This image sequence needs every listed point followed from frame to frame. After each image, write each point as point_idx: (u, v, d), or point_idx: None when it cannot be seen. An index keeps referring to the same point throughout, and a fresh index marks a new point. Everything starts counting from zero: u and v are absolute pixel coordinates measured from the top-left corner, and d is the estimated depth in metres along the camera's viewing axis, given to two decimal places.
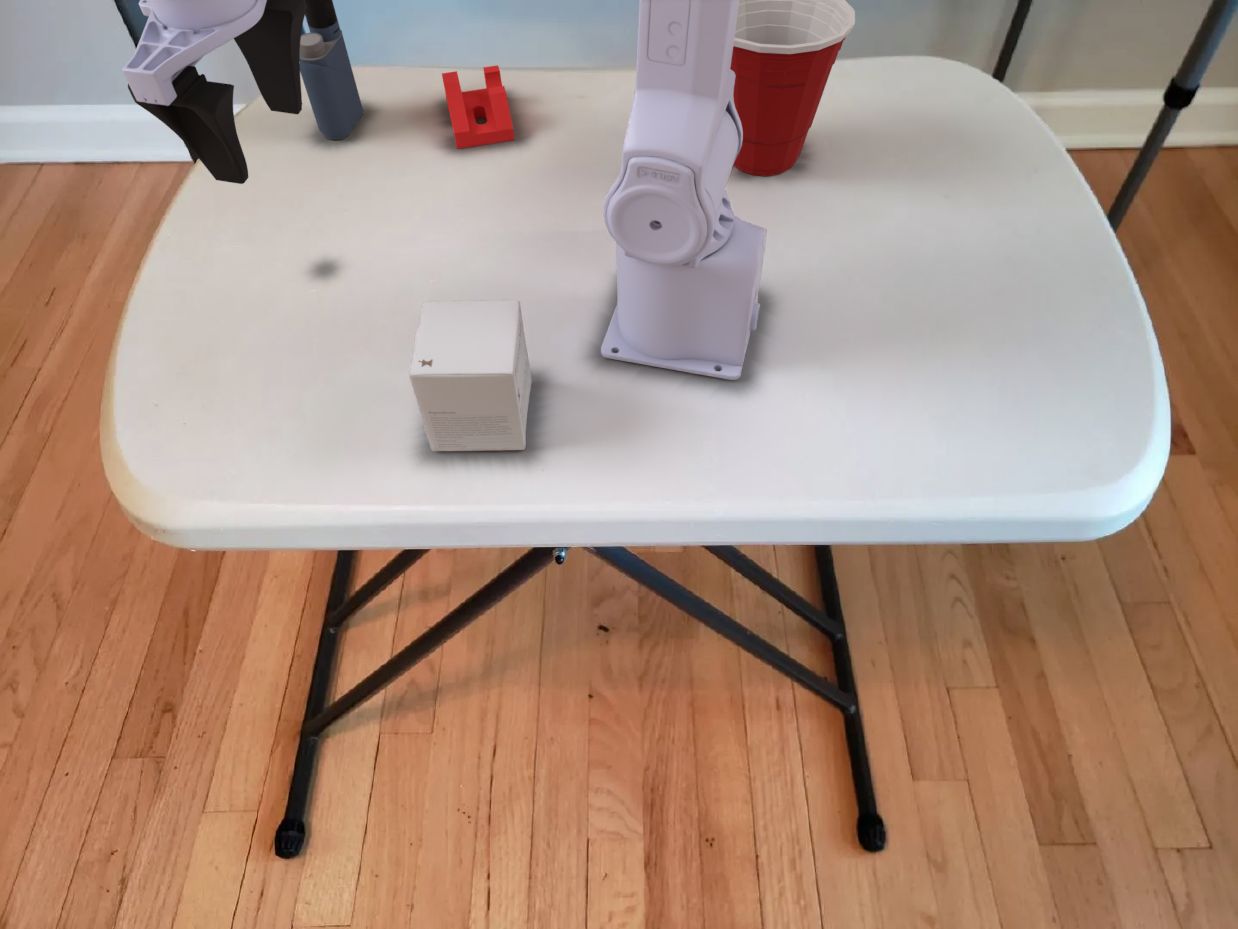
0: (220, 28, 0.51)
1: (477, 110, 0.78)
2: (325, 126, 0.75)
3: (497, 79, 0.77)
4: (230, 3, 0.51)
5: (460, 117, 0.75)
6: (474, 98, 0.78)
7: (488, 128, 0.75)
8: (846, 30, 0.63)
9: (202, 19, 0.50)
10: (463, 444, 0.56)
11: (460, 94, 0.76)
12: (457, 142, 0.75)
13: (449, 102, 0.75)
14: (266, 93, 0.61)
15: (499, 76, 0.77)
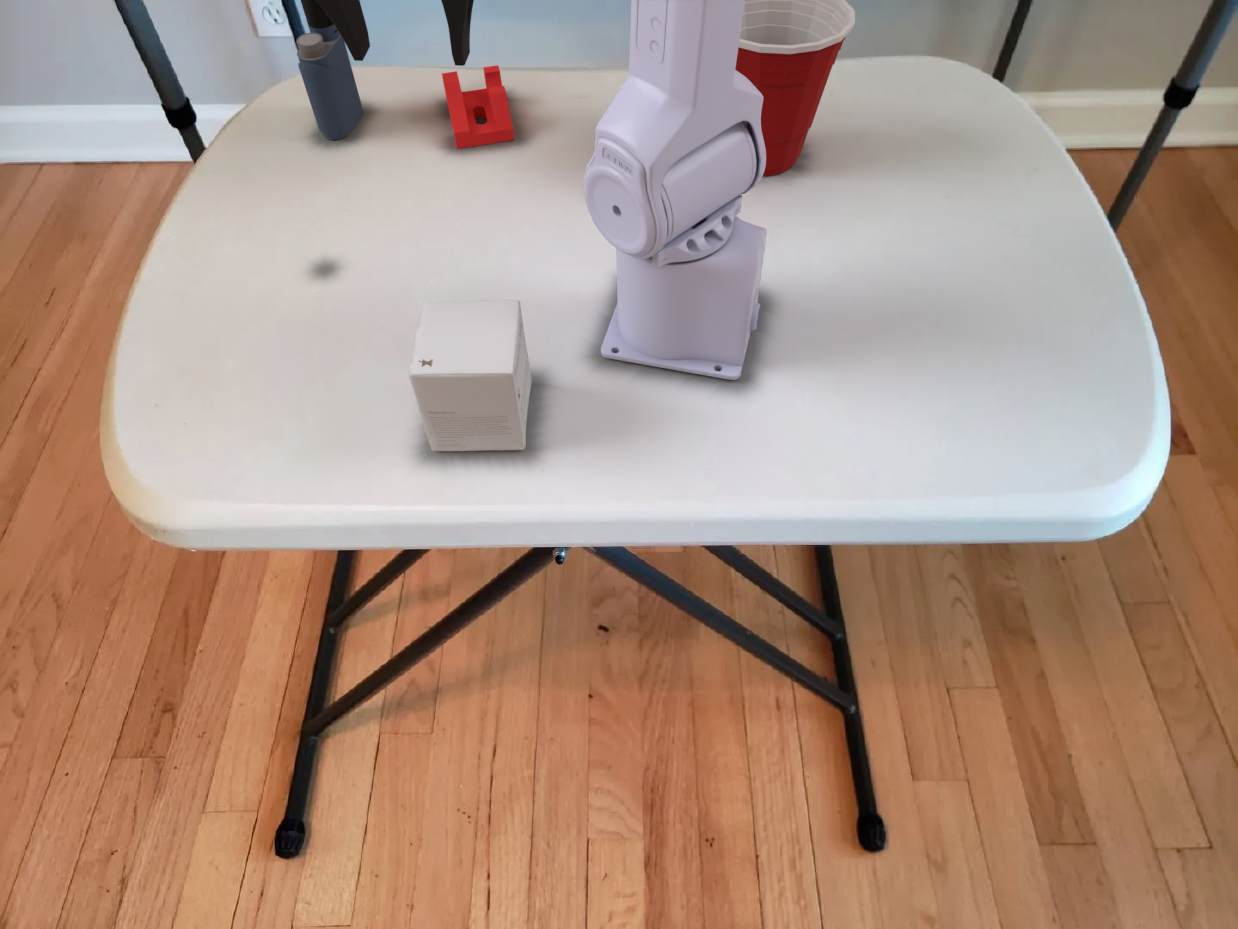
0: None
1: (477, 110, 0.78)
2: (325, 126, 0.75)
3: (497, 79, 0.77)
4: None
5: (460, 117, 0.75)
6: (474, 98, 0.78)
7: (488, 128, 0.75)
8: (846, 30, 0.63)
9: None
10: (463, 443, 0.56)
11: (460, 94, 0.76)
12: (457, 142, 0.75)
13: (449, 102, 0.75)
14: None
15: (499, 76, 0.77)
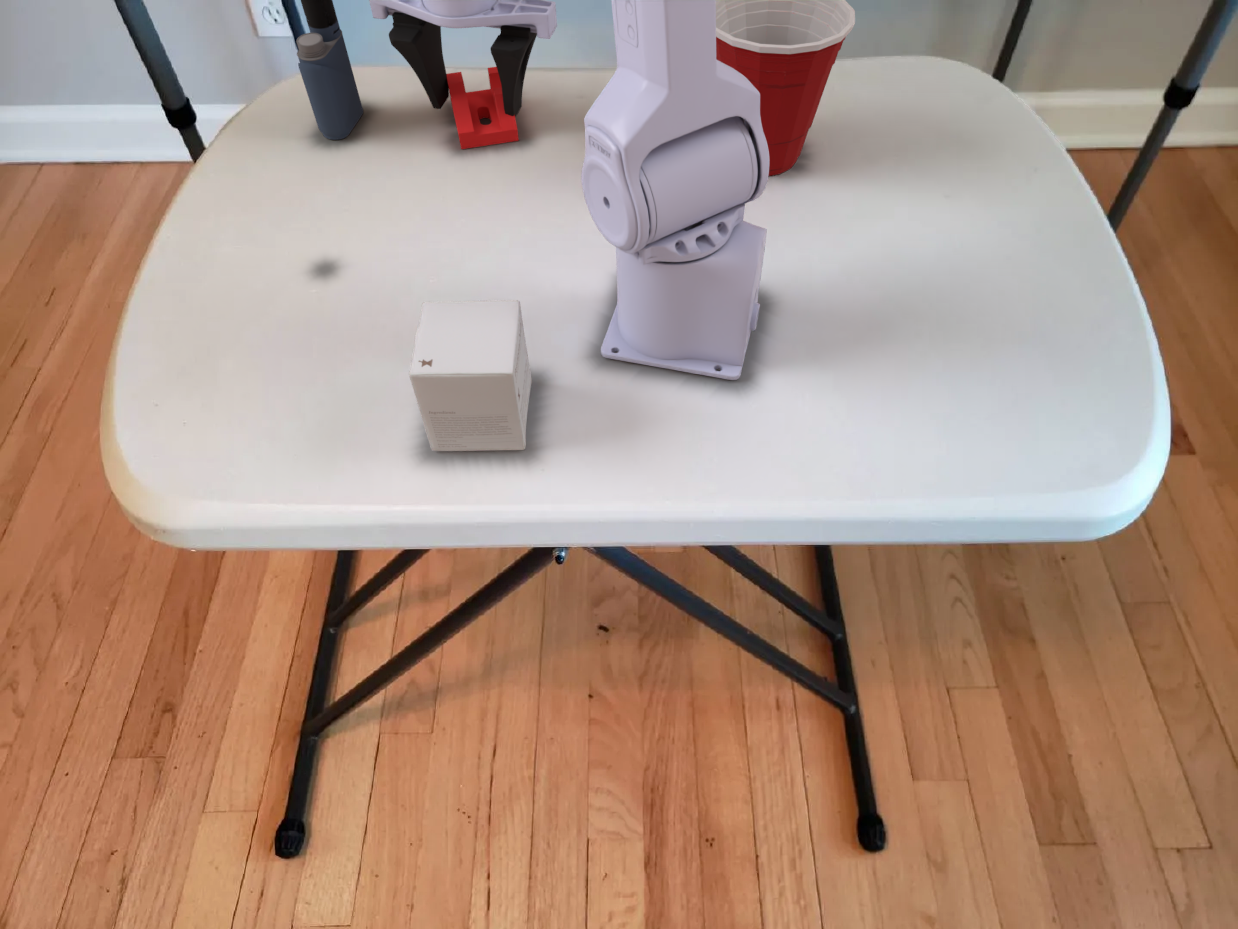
0: (420, 8, 0.68)
1: (481, 111, 0.78)
2: (325, 126, 0.75)
3: None
4: (431, 1, 0.67)
5: (465, 117, 0.75)
6: (478, 99, 0.78)
7: (492, 129, 0.75)
8: (846, 30, 0.63)
9: None
10: (463, 444, 0.56)
11: (464, 94, 0.76)
12: (462, 142, 0.75)
13: (453, 102, 0.75)
14: None
15: None
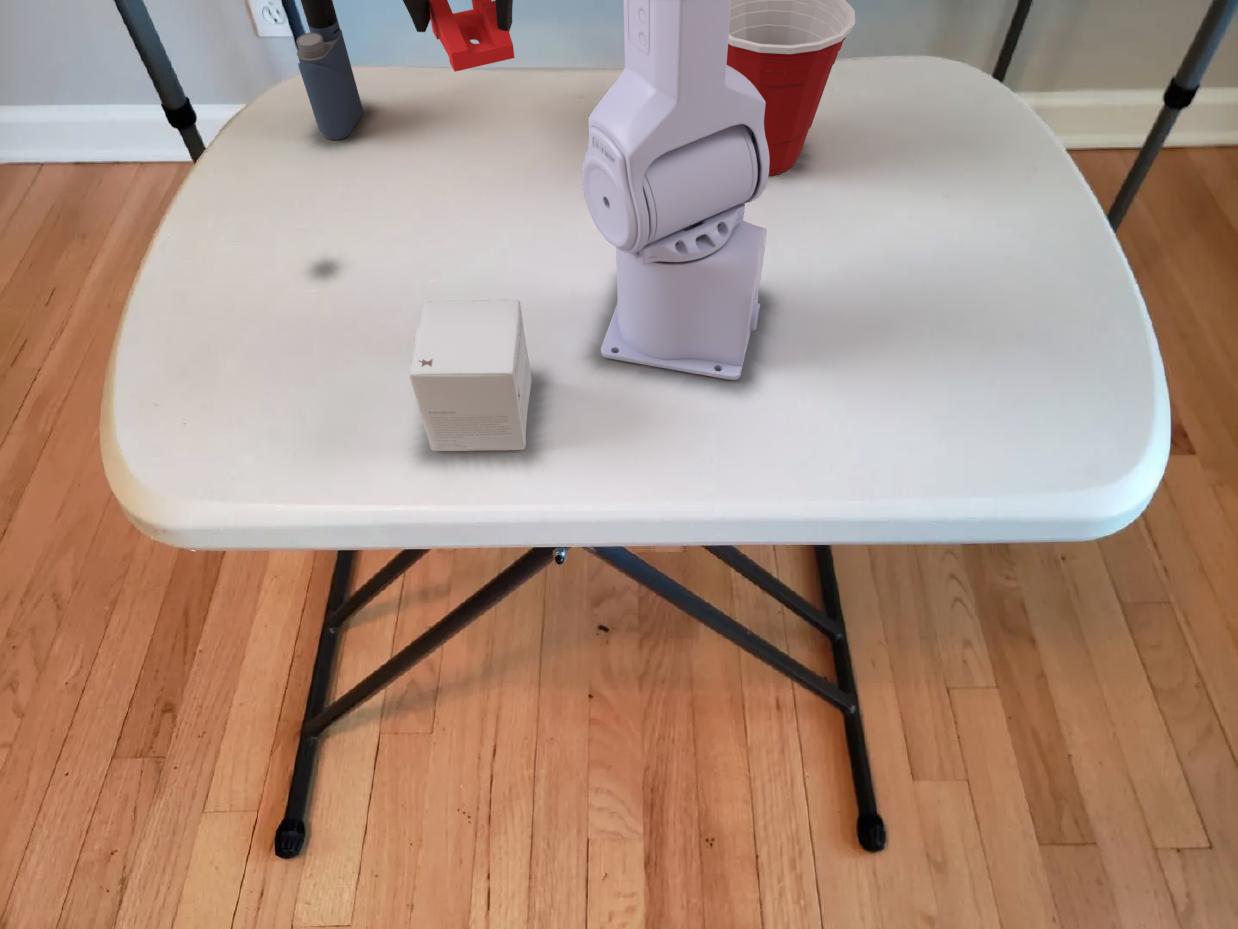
0: None
1: (468, 31, 0.72)
2: (325, 126, 0.75)
3: None
4: None
5: (455, 36, 0.69)
6: (462, 19, 0.72)
7: (486, 46, 0.70)
8: (846, 30, 0.63)
9: None
10: (463, 443, 0.56)
11: (451, 13, 0.70)
12: (455, 63, 0.69)
13: (440, 22, 0.70)
14: None
15: None
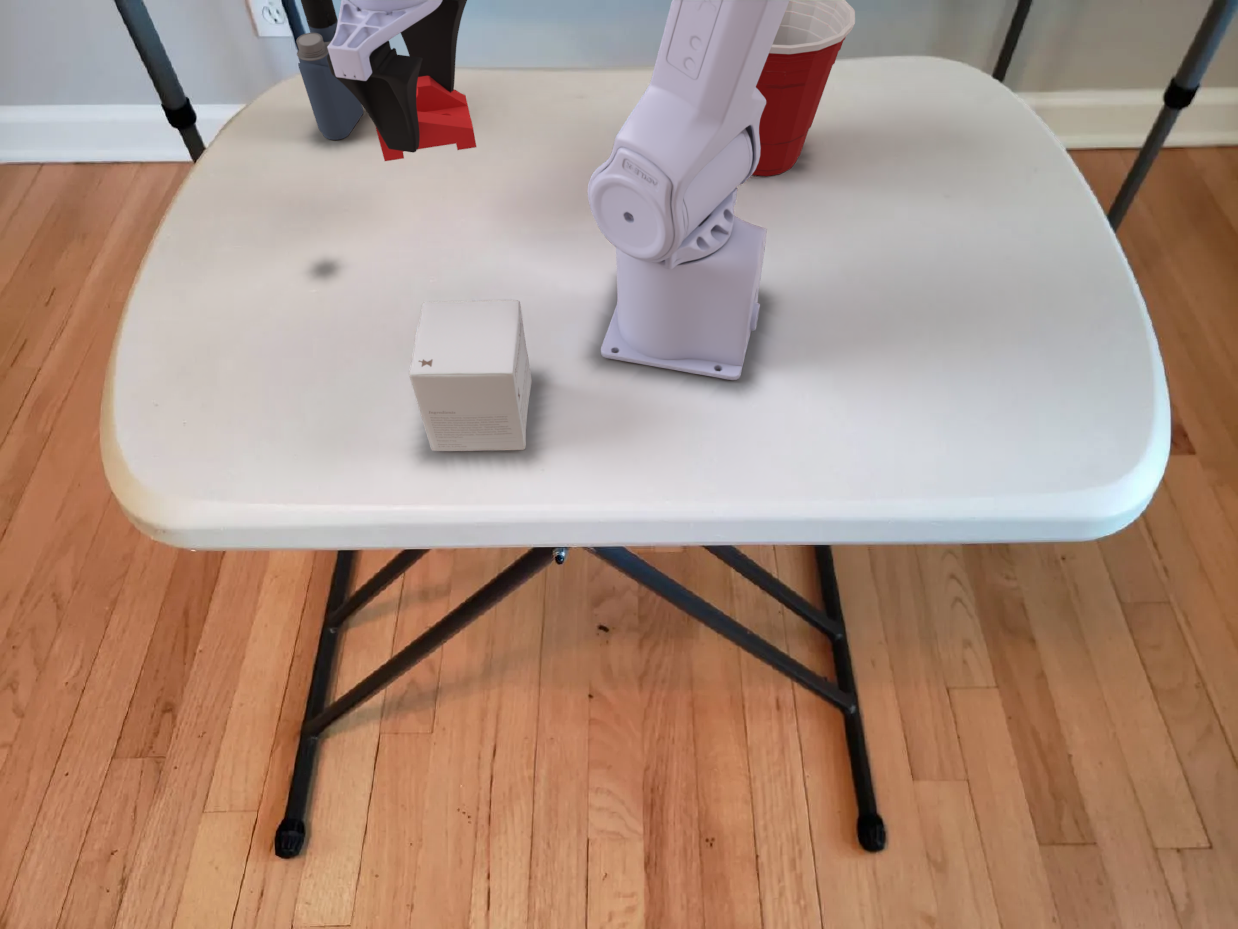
0: (410, 10, 0.55)
1: None
2: (325, 126, 0.75)
3: None
4: None
5: (450, 119, 0.63)
6: None
7: (461, 112, 0.65)
8: (846, 30, 0.63)
9: (395, 1, 0.54)
10: (463, 443, 0.56)
11: (417, 112, 0.62)
12: None
13: (427, 121, 0.62)
14: None
15: None
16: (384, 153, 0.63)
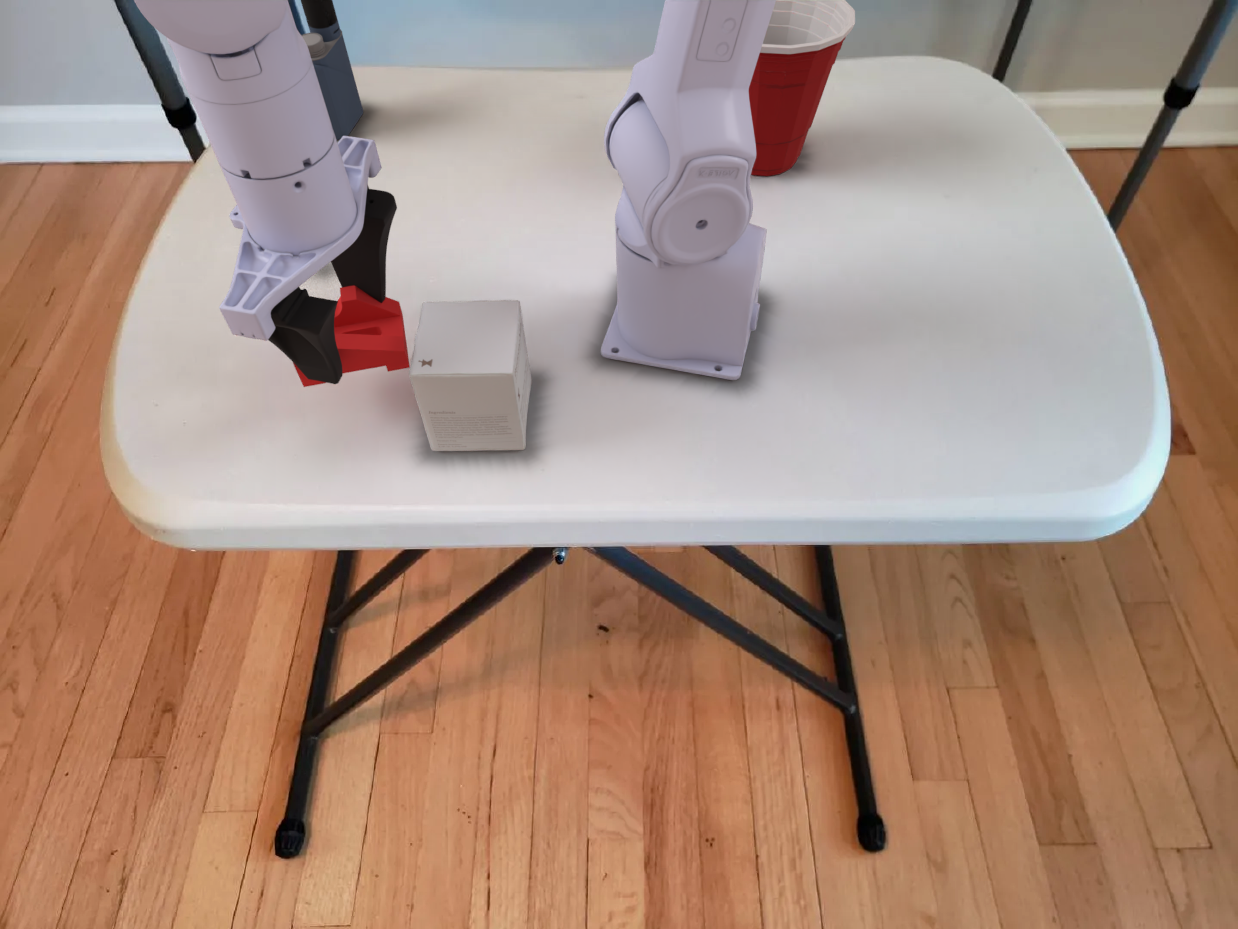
0: (321, 252, 0.47)
1: None
2: None
3: None
4: (332, 225, 0.47)
5: (378, 340, 0.55)
6: None
7: (393, 324, 0.57)
8: (846, 30, 0.63)
9: (302, 243, 0.46)
10: (463, 443, 0.56)
11: (339, 335, 0.54)
12: (407, 359, 0.56)
13: (351, 347, 0.54)
14: None
15: None
16: (302, 380, 0.55)
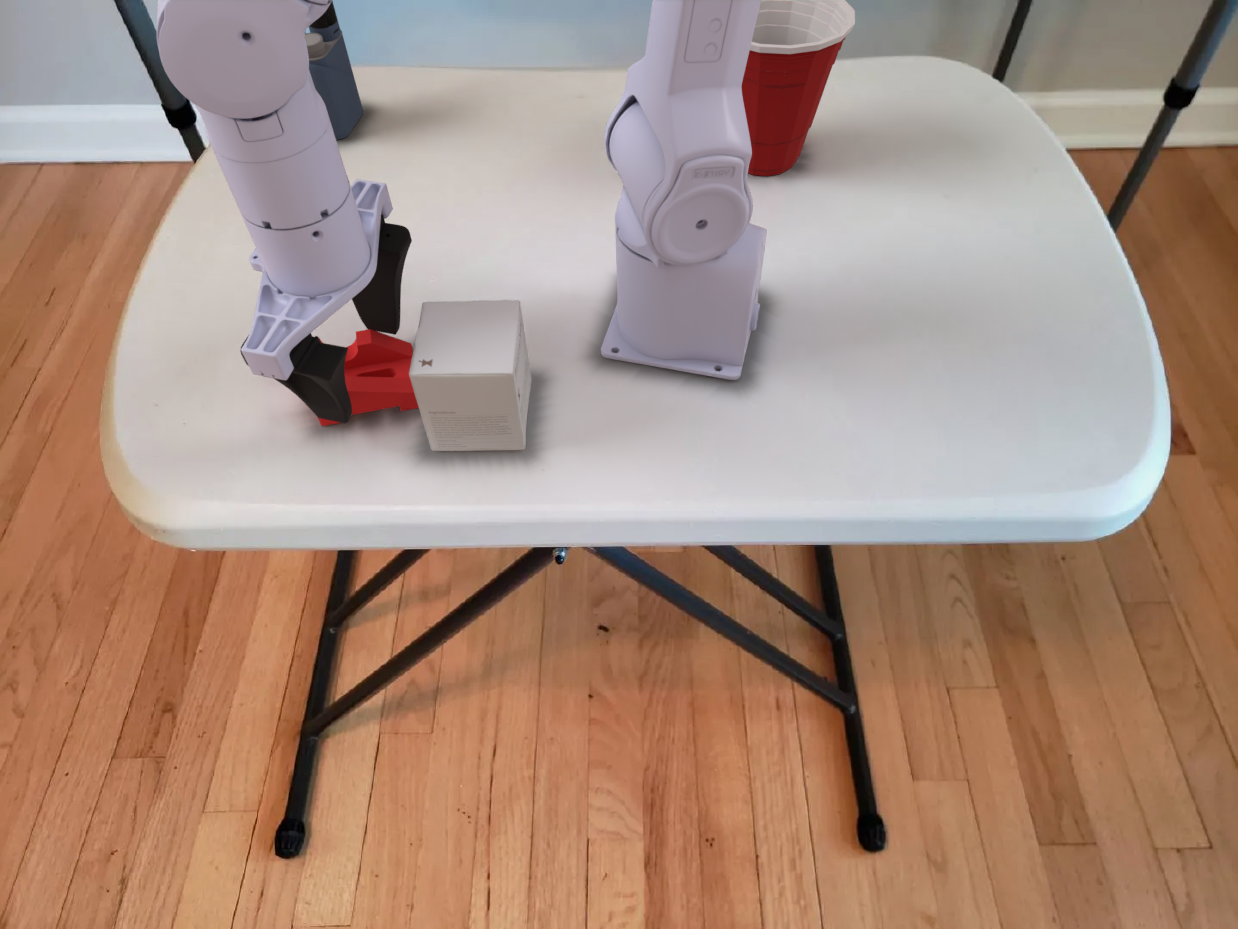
0: (337, 295, 0.49)
1: None
2: None
3: None
4: (348, 270, 0.49)
5: (392, 383, 0.58)
6: None
7: (406, 366, 0.60)
8: (846, 30, 0.63)
9: (319, 287, 0.49)
10: (463, 443, 0.56)
11: (355, 377, 0.57)
12: None
13: (367, 390, 0.57)
14: (364, 316, 0.59)
15: None
16: (320, 420, 0.58)
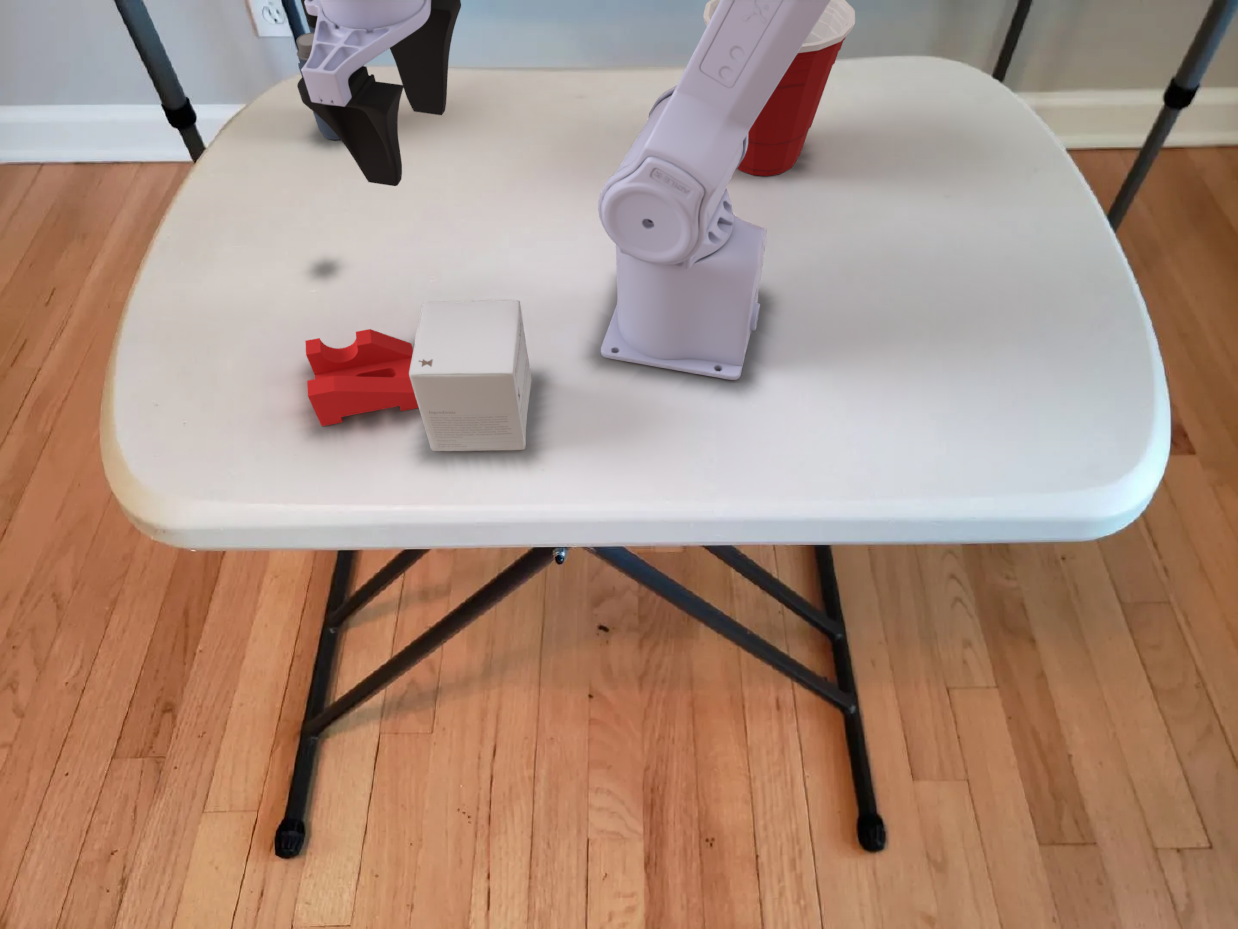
0: (394, 27, 0.50)
1: None
2: (325, 126, 0.75)
3: (325, 347, 0.59)
4: (405, 2, 0.50)
5: (392, 383, 0.58)
6: None
7: (406, 366, 0.60)
8: (846, 30, 0.63)
9: (376, 18, 0.49)
10: (463, 443, 0.56)
11: (355, 377, 0.57)
12: None
13: (367, 390, 0.57)
14: (411, 94, 0.60)
15: (322, 343, 0.59)
16: (320, 420, 0.58)
